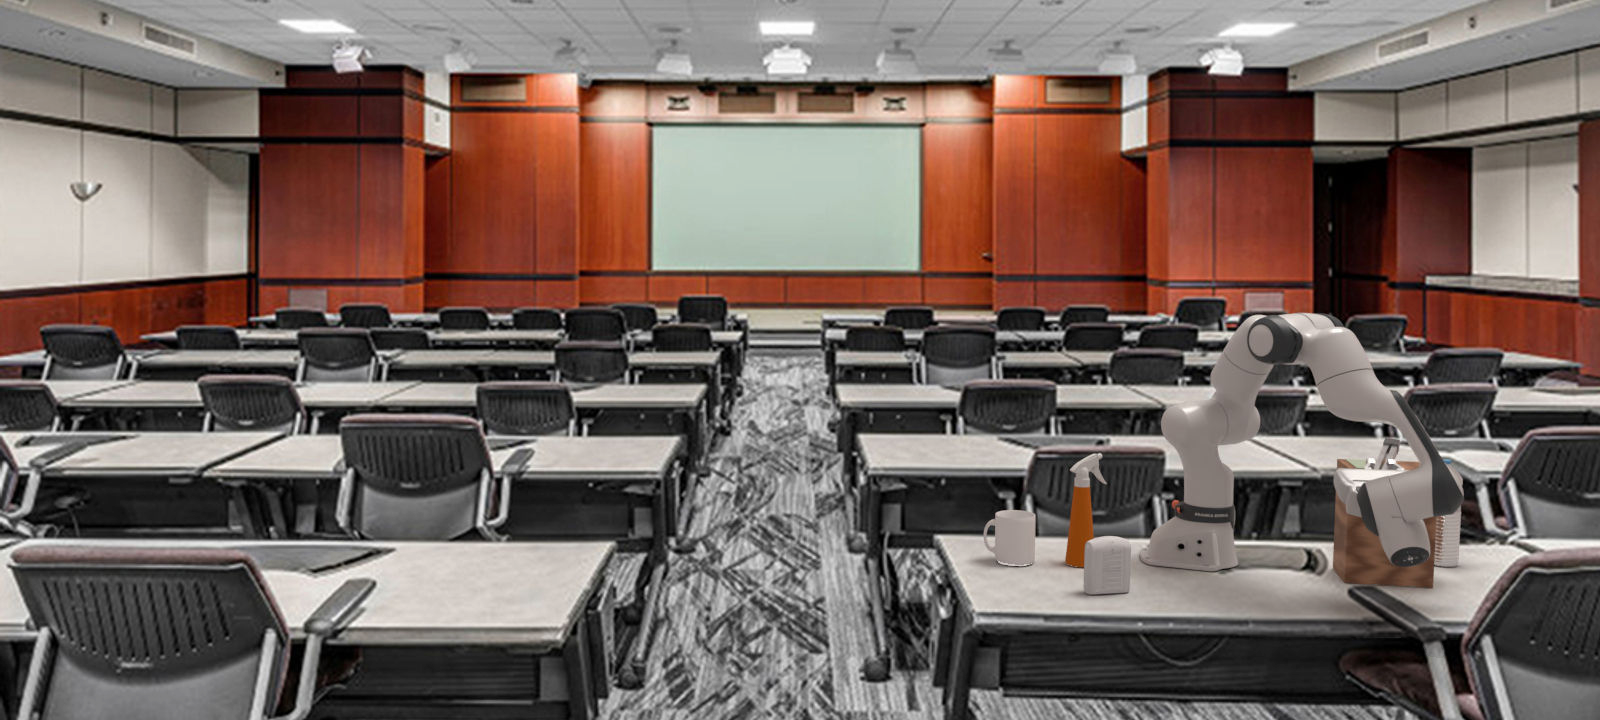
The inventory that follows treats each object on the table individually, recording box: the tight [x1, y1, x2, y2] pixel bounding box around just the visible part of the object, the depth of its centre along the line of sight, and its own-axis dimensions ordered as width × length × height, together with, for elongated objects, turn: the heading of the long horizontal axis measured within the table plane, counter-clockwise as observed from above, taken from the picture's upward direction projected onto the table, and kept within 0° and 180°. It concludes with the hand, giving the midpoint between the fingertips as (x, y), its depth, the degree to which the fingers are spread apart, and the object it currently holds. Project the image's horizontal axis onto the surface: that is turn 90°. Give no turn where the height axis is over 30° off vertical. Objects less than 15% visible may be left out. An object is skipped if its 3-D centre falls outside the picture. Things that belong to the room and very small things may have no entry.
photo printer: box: [1083, 535, 1132, 595], centre depth 248 cm, size 10×4×12 cm, turn 103°
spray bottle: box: [1064, 452, 1108, 567], centre depth 271 cm, size 7×11×26 cm, turn 116°
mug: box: [983, 509, 1036, 565], centre depth 273 cm, size 10×12×12 cm
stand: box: [1332, 458, 1437, 589], centre depth 258 cm, size 18×12×26 cm, turn 77°
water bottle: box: [1434, 458, 1464, 568], centre depth 269 cm, size 7×7×25 cm
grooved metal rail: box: [1374, 437, 1401, 470], centre depth 252 cm, size 20×3×3 cm, turn 145°
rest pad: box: [1344, 458, 1383, 469], centre depth 257 cm, size 7×11×1 cm, turn 167°
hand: (1379, 460), depth 247 cm, fingers closed on grooved metal rail, 3 cm apart
